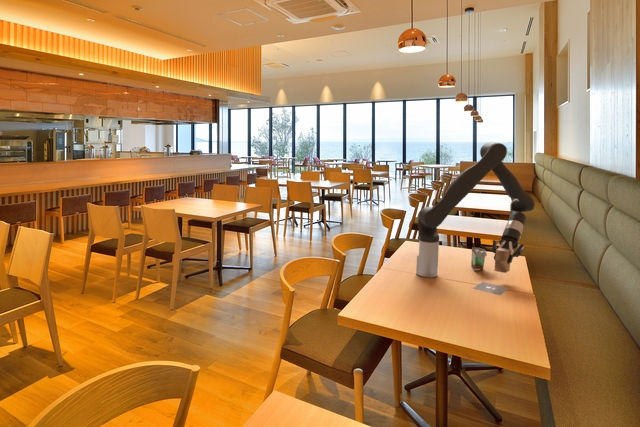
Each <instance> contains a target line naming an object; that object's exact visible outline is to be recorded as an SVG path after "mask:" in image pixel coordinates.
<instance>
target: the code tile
mask: <svg viewBox="0 0 640 427" xmlns="http://www.w3.org/2000/svg"><path fill="white" fill-rule="evenodd" d="M472 289H473V290H477V291H480V292H481V291H482V292H486V293H489V294H494V295H497V296H502V295H503V294H504V293H505V292H507V291H508V290H510V287H508V286H503V285H499V284H495V283H491V282H485V281H482V282H481V283H479V284H477V285H476V286H474V287H473V288H472Z"/></svg>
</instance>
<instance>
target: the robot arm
mask: <svg viewBox="0 0 640 427" xmlns="http://www.w3.org/2000/svg"><path fill="white" fill-rule="evenodd" d="M479 150H480V151H479V154H480V157H481V158H480V160H478V161H477V162H476V163H475V164H474V165H472V166H470V167H468V168H467V169H465V170H463V171H462V172H461V173H459V174H458V175H457V176H456V177H455V178H454V179H453V180H452V181H451V182H450V184H449V185H448V186H447V189H446V191H445V192H444V195H443V197H442V198H441V199H440V200H439V201H438V202H437V203H436V204H435V205H434V206H433V207H432V206H425V207H423V208H422V209H420V211H419V214H418V218H417V220H418V223H417V224H418V225H417V226H418V228H417V232H418V235H419V236H418V238H419V241H418V254H417V255H416V266H415V267H416V268H415V272H416V273H415V274H416V275H418V276H420V277H422V278H429V279H430V278H436V277H437V276H438V268H439V250H440V248H439V247H440V235H439V232H438V227H439V226H440V225H441V224H442V223H443V222H444V221H445V219H447V217H448V215H449V214H450V213H451V211H453V210H454V209H455V207H457V206H458V204H460V203H461V201H462V200H463V199H464V198H466V197H467V196H468V195H469V193H470V192H471V191H473V189H474V188H475V187H476V186H477V185H478V184H479V183H480V182H481V181H483V179H485V177H486V176H487V174H489V173H490V172H491V171H492V172H493V173H494V175H495V176H496V178H497V179H498V181H499V182H500V184H501V186H502V188H503V189H504V191H505V193H506V195H507V196H508V197H509V198H510V199H512V200H511V202H510V206H509V207H510V210H509V213H510V214H509V218H508V220H507V222H506V225H505V227H504V229H503V232H502V235H501V237H500V239H499V240H495V239H493V240H492V246H491V247H492V248H491V250H492V253H493V254H494V256H493V260H494V261H495V257H496V250H497V249H498V248H505V249H510V250H511V252H510V255H509V258H508V260H507V263H508V264H510V265H511V264H512V263H513V259H514V258H515V257H516V258H518V257H519V256H520V255H521V253H522V252H523V250H524V246H525V245H524V244H520V243H519V241H520V239H521V237H522V236H521V235H522V234H523V229H524V226H525V224H526V223H525V222H526V219H527V216H526V215H525V214H524V213H525V212H531V211H533V210H534V209H535V207H536V204H535V201H534V199H533V198H532V196H531V195H530V194H529V193H528V192H526V190H524V189H523V187H522V184H520V182H519V181H518V180H519V179H518V178H517V177H516V176H515V175H514V174H513V172H511V171H510V169H508V167H507V166H506V165H505V164H504V162H503V161H504V160H505V158H506V156H507V155H508V148H507V146H506V145H505V144H503V143H500V142H491V141H490V142H485V143H484V144H483V145H482V146H481V147H480V149H479ZM498 245H499V246H498ZM497 246H498V248H497ZM516 248H517V249H516ZM515 249H516V251H515V252H514V250H515Z"/></svg>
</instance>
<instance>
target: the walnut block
mask: <svg viewBox="0 0 640 427" xmlns="http://www.w3.org/2000/svg"><path fill="white" fill-rule="evenodd" d="M510 252H511V250H510V249H505V248H496V257H495V260H494V271H495V272H499V273H502V274H503V273H504V274H507V273H508V272H509V271H510V269H511V268H510V267H511V263H510V264H508V263H507V260H508V258H509V255H510Z"/></svg>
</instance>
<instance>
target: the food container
mask: <svg viewBox="0 0 640 427" xmlns="http://www.w3.org/2000/svg"><path fill="white" fill-rule="evenodd" d="M487 256H488V255H487V251H486V250H485V249H484V248H480V247H475V246H474V247H471V261H470V262H471V265H470V266H471V268H472V270H473V272H475V273H476V272H483V270H484V266H485V259H486V257H487Z"/></svg>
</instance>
